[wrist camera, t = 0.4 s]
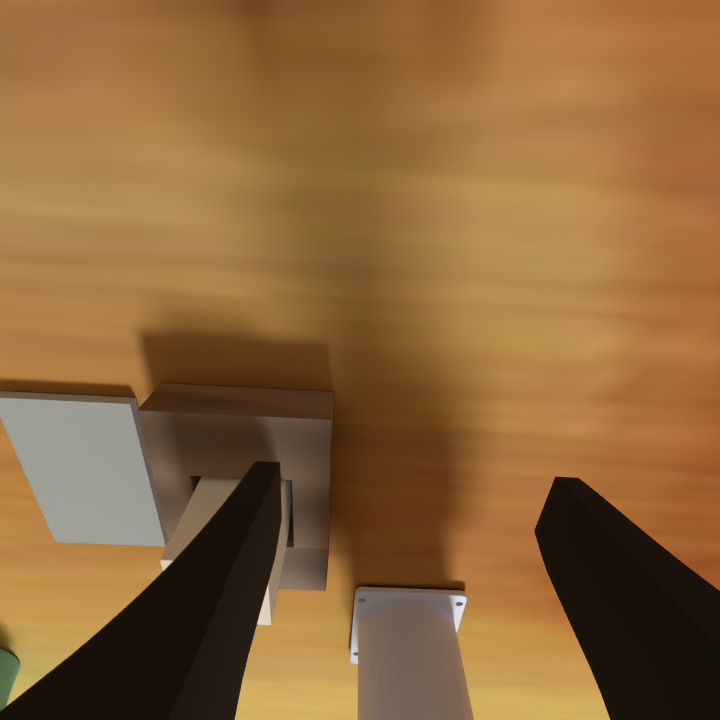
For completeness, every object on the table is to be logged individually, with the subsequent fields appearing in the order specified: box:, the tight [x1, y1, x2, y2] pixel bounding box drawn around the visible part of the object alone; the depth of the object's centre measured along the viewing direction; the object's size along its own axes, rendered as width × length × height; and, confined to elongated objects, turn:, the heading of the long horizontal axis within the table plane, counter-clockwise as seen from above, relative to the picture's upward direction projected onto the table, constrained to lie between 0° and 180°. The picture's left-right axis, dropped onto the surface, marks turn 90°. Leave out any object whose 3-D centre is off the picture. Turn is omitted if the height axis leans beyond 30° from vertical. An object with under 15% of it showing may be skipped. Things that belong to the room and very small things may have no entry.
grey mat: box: [0, 391, 169, 546], centre depth 23 cm, size 11×7×1 cm, turn 176°
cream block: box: [160, 476, 293, 625], centre depth 21 cm, size 4×4×7 cm
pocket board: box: [137, 383, 334, 591], centre depth 22 cm, size 13×9×2 cm
